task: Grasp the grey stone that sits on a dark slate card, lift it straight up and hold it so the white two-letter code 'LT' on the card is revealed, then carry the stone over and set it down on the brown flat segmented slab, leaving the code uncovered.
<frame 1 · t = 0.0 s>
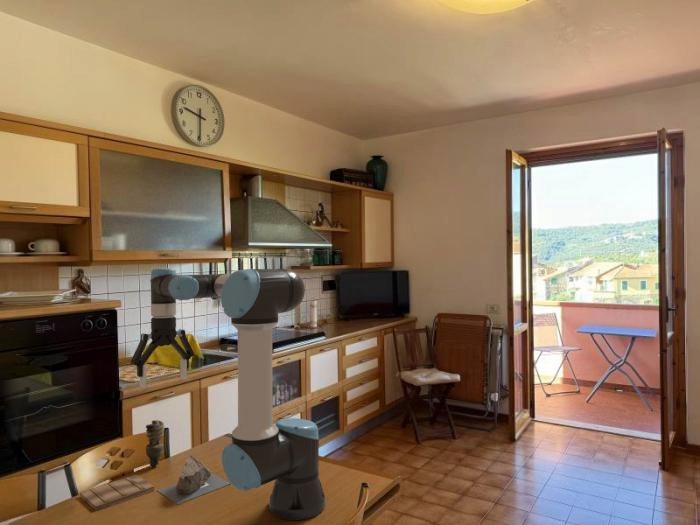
hand: (163, 382, 157), 28 cm above the table, fingers open, 13 cm apart
code card: (194, 487, 145), on the table
stone: (194, 487, 145), resting on code card
brown flat segmented slab: (117, 493, 142), on the table
dark grey lumpy column: (155, 467, 160), on the table
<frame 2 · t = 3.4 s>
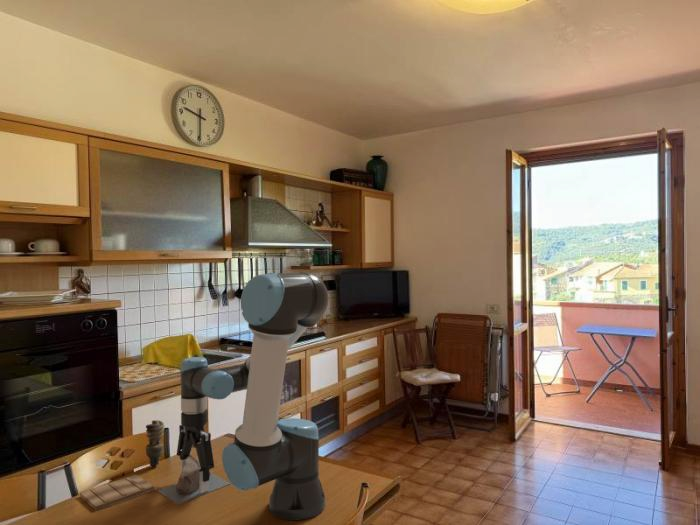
hand: (195, 486, 145), 0 cm above the table, fingers closed on stone, 10 cm apart
stone: (194, 487, 145), resting on code card, touching gripper
everything else where it was.
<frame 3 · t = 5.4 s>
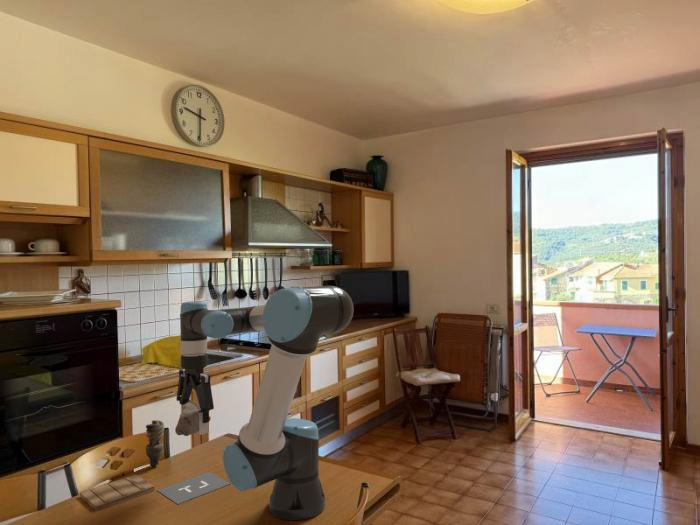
hand: (194, 429, 145), 17 cm above the table, fingers closed on stone, 10 cm apart
stone: (194, 430, 145), point 17 cm above the table, touching gripper
everything else where it was.
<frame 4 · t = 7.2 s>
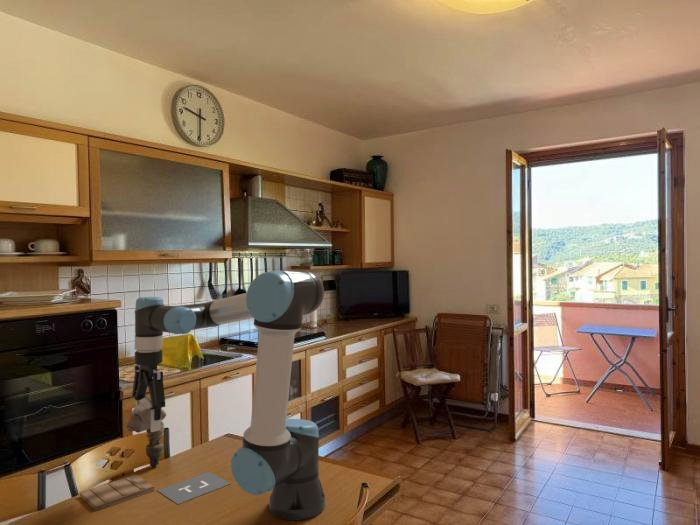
hand: (147, 426, 144), 19 cm above the table, fingers closed on stone, 10 cm apart
stone: (147, 427, 144), point 18 cm above the table, touching gripper
everything else where it was.
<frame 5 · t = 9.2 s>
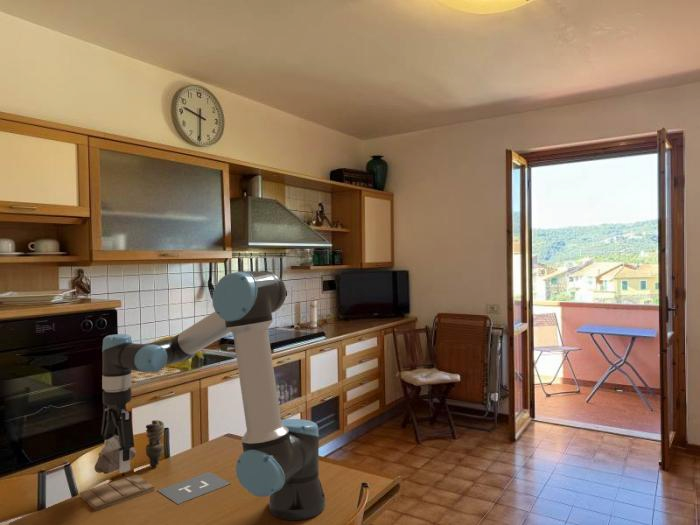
hand: (117, 466, 142), 8 cm above the table, fingers closed on stone, 10 cm apart
stone: (116, 467, 142), point 7 cm above the table, touching gripper
everything else where it was.
when the fingers open (3 cm above the table, at t = 10.9 s): stone drops 1 cm, resting on brown flat segmented slab.
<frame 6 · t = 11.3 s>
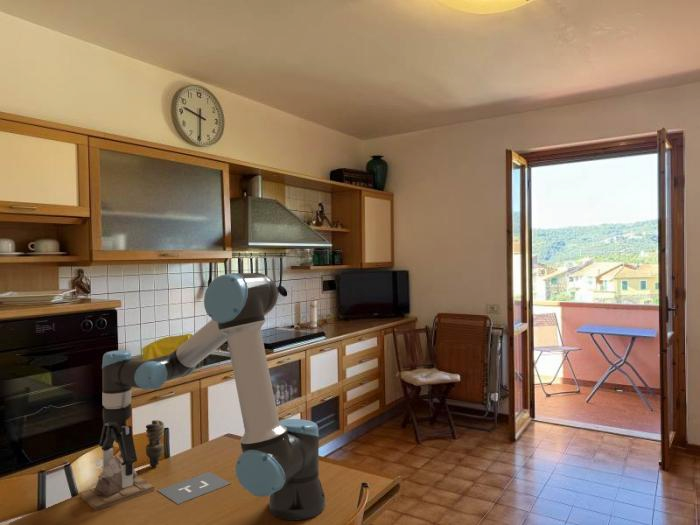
hand: (117, 479, 142), 4 cm above the table, fingers open, 13 cm apart
stone: (117, 489, 142), point 1 cm above the table, touching brown flat segmented slab
everything else where it was.
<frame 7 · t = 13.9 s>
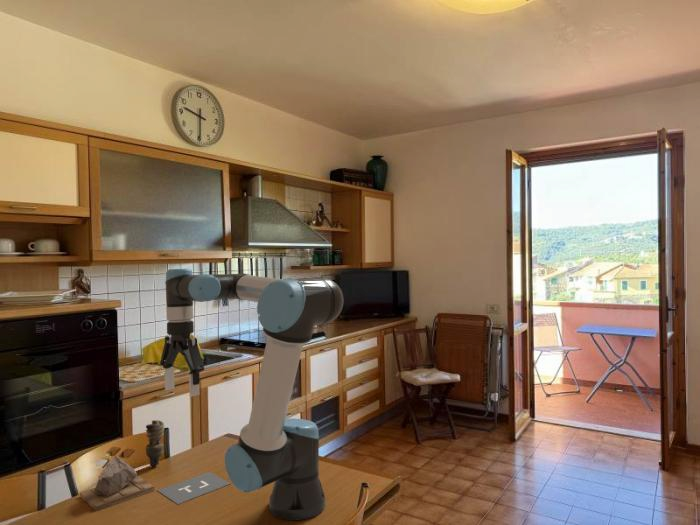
hand: (181, 392, 145), 28 cm above the table, fingers open, 13 cm apart
nothing on the table moved.
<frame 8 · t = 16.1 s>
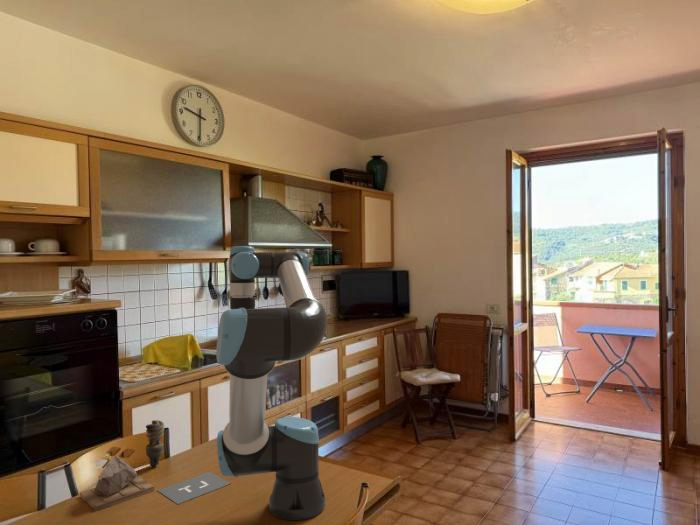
hand: (242, 365, 151), 35 cm above the table, fingers open, 13 cm apart
nothing on the table moved.
at the end: stone inside the target area on the brown flat segmented slab (0.2 cm from its centre), point 1.2 cm above the brown flat segmented slab's base; stone moved 21.6 cm from its start; the gripper is holding nothing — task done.
